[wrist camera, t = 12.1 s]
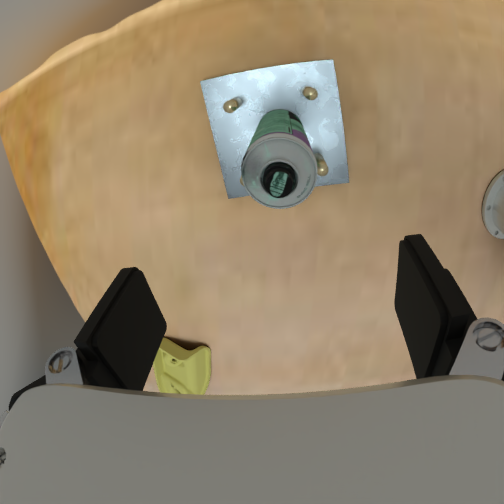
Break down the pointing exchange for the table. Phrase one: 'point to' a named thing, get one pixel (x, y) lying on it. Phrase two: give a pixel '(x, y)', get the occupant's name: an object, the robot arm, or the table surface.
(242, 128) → the post plate
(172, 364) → the plastic component
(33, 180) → the table surface
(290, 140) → the spray can
